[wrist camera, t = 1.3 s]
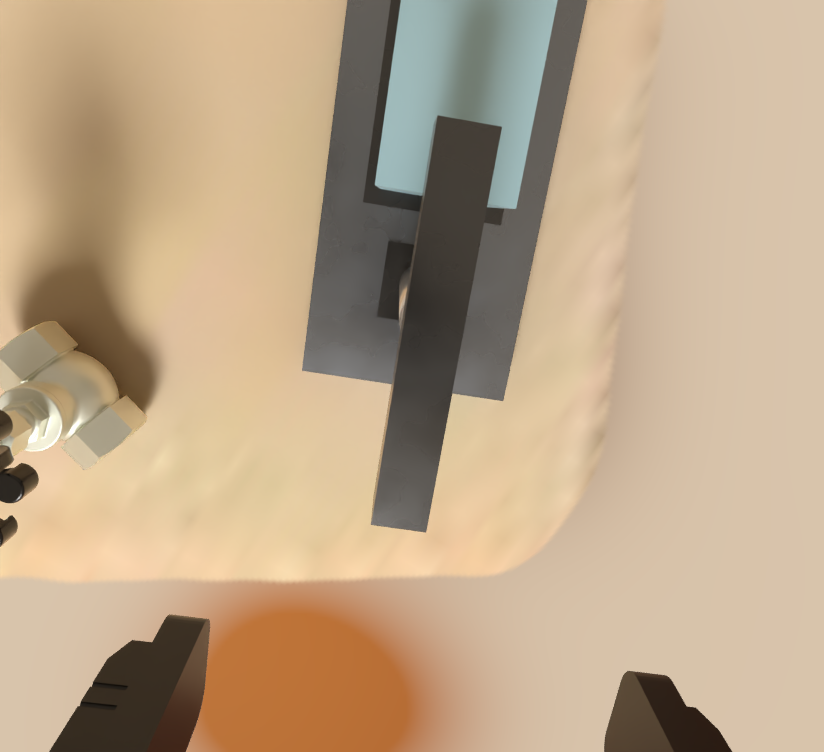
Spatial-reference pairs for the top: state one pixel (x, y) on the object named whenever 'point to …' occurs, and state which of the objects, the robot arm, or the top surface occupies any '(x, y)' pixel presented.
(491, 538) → the top surface
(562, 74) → the housing
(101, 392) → the valve
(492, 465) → the top surface
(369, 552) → the top surface
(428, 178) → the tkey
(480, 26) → the light blue block
